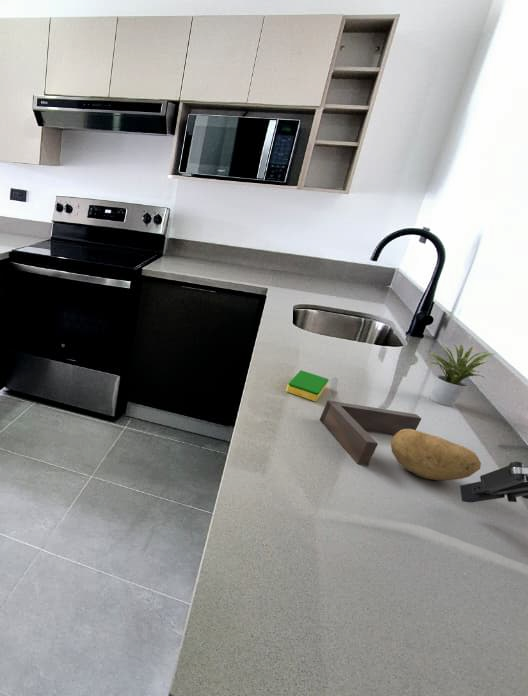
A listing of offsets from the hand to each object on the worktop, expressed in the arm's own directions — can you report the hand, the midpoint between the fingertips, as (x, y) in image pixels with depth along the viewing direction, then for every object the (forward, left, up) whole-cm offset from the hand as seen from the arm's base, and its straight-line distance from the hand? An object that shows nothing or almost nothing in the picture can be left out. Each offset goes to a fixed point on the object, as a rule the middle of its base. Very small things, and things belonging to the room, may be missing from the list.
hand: (465, 494), depth 85 cm
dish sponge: (+29, -37, -3) cm, 47 cm away
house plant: (-3, -62, -3) cm, 62 cm away
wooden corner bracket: (+11, -16, -3) cm, 19 cm away
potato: (+5, -9, -3) cm, 11 cm away
